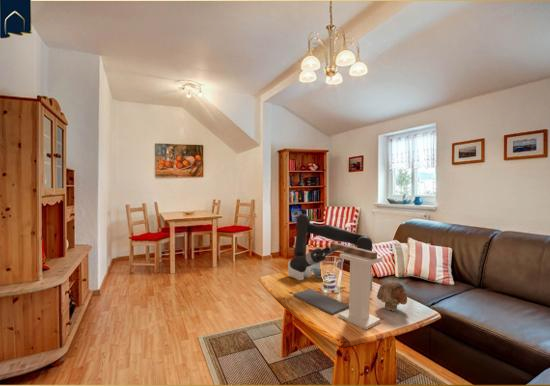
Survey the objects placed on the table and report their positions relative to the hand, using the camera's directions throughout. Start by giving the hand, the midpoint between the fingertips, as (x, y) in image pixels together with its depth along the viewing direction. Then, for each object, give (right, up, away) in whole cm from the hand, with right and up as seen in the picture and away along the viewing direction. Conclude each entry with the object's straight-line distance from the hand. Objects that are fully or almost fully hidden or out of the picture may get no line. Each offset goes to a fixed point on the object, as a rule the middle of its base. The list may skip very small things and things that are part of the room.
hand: (334, 247), depth 150 cm
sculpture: (+31, -33, 0) cm, 45 cm away
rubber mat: (-7, -32, +9) cm, 34 cm away
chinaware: (0, -31, +52) cm, 60 cm away
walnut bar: (+7, -1, -9) cm, 11 cm away
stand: (+10, -33, -11) cm, 37 cm away
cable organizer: (-15, -31, +48) cm, 59 cm away
